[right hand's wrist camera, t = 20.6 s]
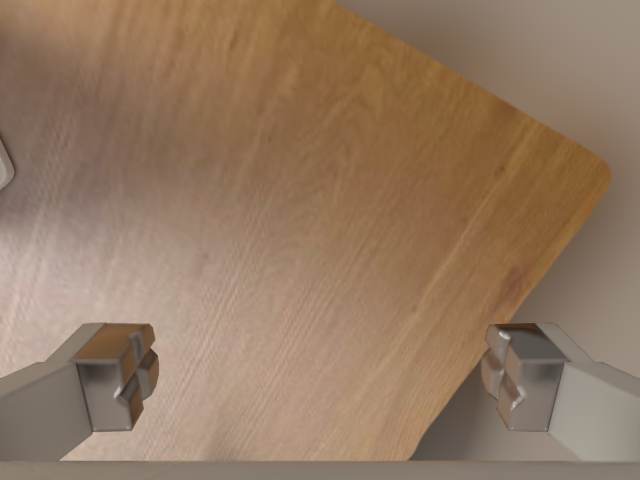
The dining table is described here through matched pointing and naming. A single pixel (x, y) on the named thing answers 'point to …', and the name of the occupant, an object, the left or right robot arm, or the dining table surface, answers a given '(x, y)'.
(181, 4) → the dining table surface
